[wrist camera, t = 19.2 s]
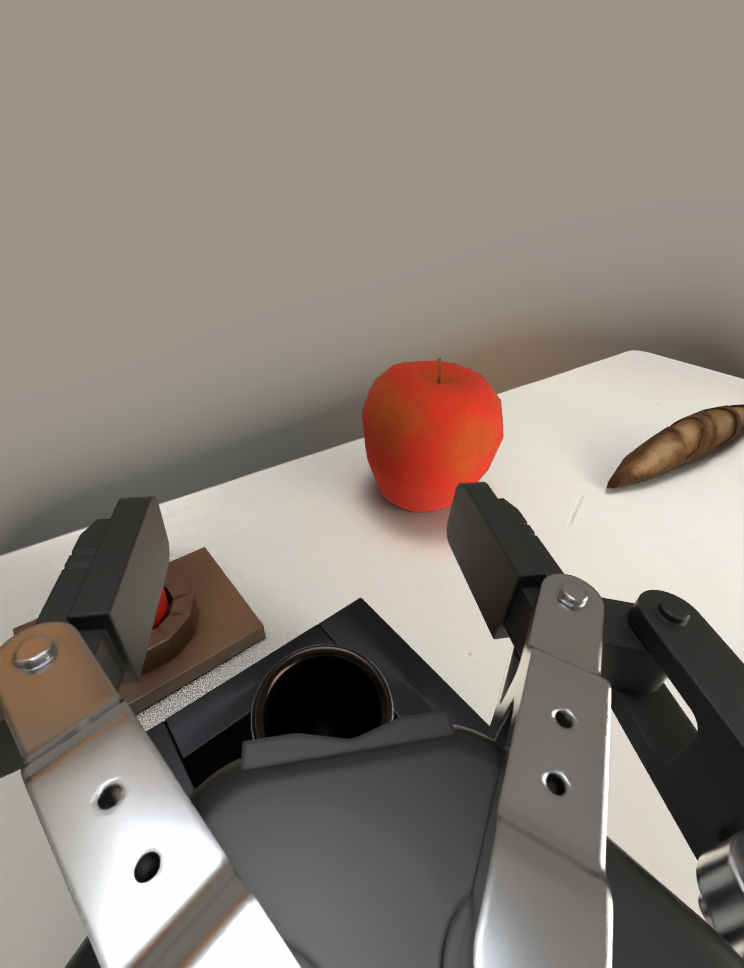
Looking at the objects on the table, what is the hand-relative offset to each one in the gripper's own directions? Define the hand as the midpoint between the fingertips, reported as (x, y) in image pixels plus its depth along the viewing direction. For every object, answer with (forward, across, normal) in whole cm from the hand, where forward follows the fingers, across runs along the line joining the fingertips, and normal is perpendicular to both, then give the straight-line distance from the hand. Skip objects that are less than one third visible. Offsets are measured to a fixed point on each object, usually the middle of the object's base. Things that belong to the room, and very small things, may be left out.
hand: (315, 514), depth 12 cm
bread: (+29, -49, +18) cm, 60 cm away
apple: (+22, -12, +18) cm, 31 cm away
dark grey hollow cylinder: (-2, 0, +17) cm, 17 cm away
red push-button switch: (+10, +10, +18) cm, 22 cm away
